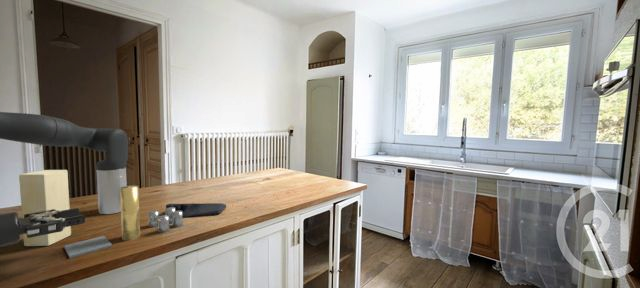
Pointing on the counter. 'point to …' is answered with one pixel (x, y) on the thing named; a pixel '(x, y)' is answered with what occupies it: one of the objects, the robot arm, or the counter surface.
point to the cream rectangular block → (44, 200)
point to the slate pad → (87, 246)
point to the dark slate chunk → (198, 209)
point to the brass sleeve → (130, 212)
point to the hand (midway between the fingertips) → (81, 215)
